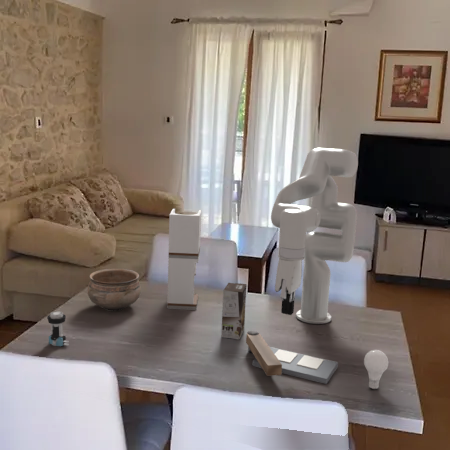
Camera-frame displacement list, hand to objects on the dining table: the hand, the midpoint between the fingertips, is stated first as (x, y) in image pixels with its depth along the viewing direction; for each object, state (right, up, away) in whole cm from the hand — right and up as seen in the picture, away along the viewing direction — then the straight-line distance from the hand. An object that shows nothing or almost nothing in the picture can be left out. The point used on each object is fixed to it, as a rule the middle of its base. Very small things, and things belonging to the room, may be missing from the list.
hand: (287, 313), depth 168 cm
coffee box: (-15, -10, +23) cm, 29 cm away
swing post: (-10, -13, +9) cm, 19 cm away
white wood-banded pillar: (-34, -4, +48) cm, 59 cm away
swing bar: (-8, -12, -1) cm, 14 cm away
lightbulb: (+22, -19, -11) cm, 31 cm away
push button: (-69, -11, +8) cm, 70 cm away
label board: (+2, -16, 0) cm, 16 cm away
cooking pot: (-58, -5, +41) cm, 71 cm away
